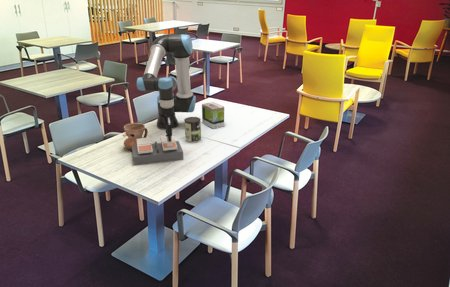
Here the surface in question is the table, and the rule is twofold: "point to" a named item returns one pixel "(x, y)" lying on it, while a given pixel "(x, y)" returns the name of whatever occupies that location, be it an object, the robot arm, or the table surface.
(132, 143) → the ceramic jug
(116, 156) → the table surface
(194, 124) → the coffee can
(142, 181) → the table surface
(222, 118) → the tea box
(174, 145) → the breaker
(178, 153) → the breaker panel
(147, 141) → the breaker
